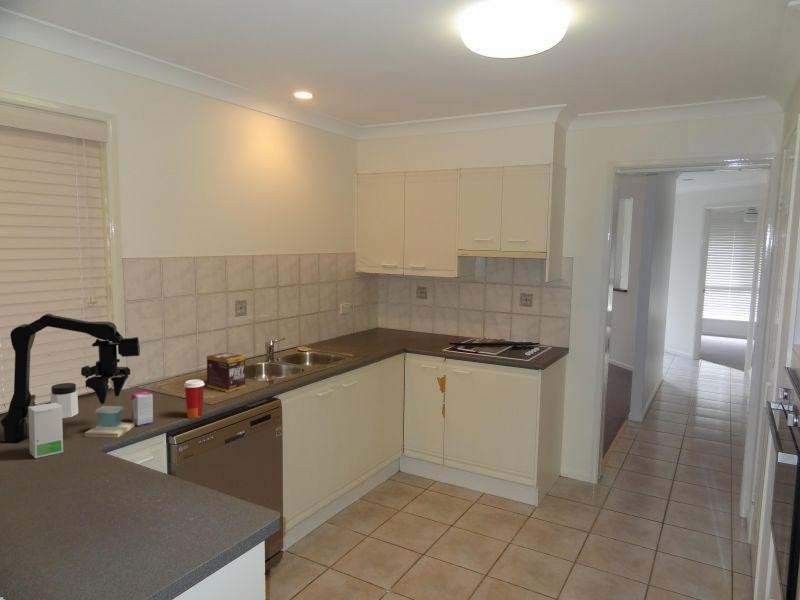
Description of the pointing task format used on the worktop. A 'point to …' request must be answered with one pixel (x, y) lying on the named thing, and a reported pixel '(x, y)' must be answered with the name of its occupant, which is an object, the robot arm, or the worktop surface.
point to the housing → (109, 418)
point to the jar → (65, 398)
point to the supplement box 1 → (142, 408)
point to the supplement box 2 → (225, 371)
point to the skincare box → (45, 430)
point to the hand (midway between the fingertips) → (109, 399)
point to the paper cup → (194, 398)
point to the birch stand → (110, 431)
